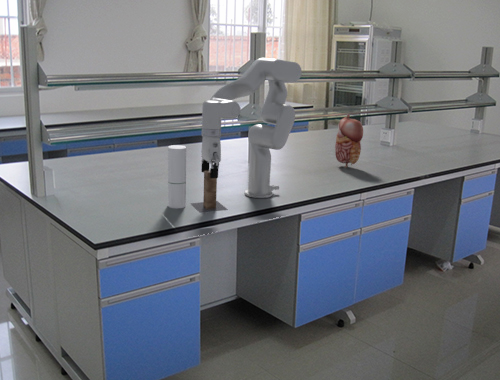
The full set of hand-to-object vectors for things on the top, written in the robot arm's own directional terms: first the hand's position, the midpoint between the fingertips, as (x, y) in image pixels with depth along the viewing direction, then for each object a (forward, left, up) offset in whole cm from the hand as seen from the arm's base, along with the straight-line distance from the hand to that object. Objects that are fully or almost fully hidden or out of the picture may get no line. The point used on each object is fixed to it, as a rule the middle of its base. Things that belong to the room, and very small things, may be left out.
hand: (209, 175), depth 209 cm
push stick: (0, 0, -14) cm, 14 cm away
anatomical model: (-98, -44, -15) cm, 109 cm away
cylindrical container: (+12, -6, -15) cm, 20 cm away
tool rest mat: (0, -1, -14) cm, 14 cm away
